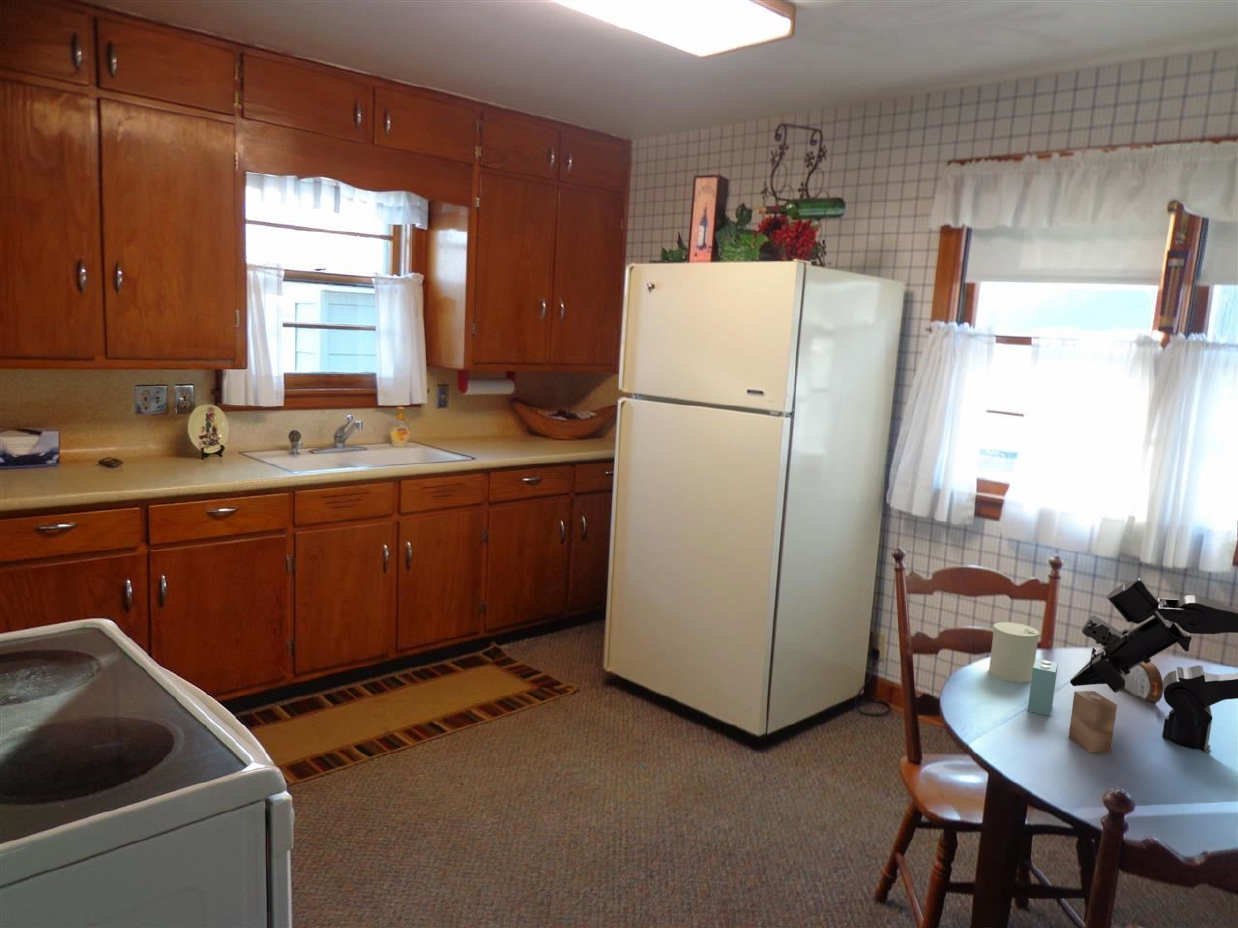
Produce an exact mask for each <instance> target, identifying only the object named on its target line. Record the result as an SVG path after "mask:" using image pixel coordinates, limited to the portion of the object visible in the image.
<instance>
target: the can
mask: <svg viewBox="0 0 1238 928" xmlns="http://www.w3.org/2000/svg"><path fill="white" fill-rule="evenodd" d="M1039 636H1040V632H1039V630H1037V629H1036V628H1034V627H1032V626H1030V625H1026V624H1023V623H1017V622H1013V621H1012V622H1011V621H1009V622H1007V621H1001V622H996V623H994V625H993V632H992V643H991V652H990V660H989V667H988V668H989V669H988V672H989V674H990V675H991V676H994V677H995V678H998V679H1000V680H1003V681H1007V682H1010V683H1011V682H1012V683H1021V684H1022V683H1023V684H1024V683H1031V679H1032V671H1033V666H1034V663H1035V660H1036V659H1037V657H1036V656H1037V650H1038V649H1037V648H1038V641H1039Z"/></svg>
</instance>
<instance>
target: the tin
mask: <svg viewBox="0 0 1238 928" xmlns="http://www.w3.org/2000/svg"><path fill="white" fill-rule="evenodd" d="M1121 671H1122V670H1121ZM1122 672H1123V671H1122ZM1123 673H1124V672H1123ZM1123 690H1124V691H1126V692H1127V693H1128V694H1129V695H1131V696H1132V695H1133V696H1137V697H1141V698H1142V699H1143V700H1145V701H1146V702H1155V704H1156V703H1159V702H1160V700H1161V699H1162V697H1163V695H1164V692H1163V677H1162V675H1161V672H1160V670H1159V668H1158V667H1157V666H1156V664H1155V663H1153V662H1151V661H1150V662H1148V663H1147V664H1145V662H1142V663H1141V664H1139V665H1137V666H1135V667H1133V668H1132V669H1131V672H1130V673H1129V674H1127V675H1126V680H1125V688H1124V689H1123Z"/></svg>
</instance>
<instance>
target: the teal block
mask: <svg viewBox="0 0 1238 928" xmlns="http://www.w3.org/2000/svg"><path fill="white" fill-rule="evenodd" d="M1058 665H1059V663H1058V662H1056V661H1050V660H1046V659H1040V658H1036V659H1035V663H1034V666H1033V671H1032V679H1031V682H1030V689H1029V696H1028V697H1029V698H1028V705H1027V706H1028V707H1027V712H1030V713H1035V714H1040V715H1045V716H1048V717H1051V714H1052V710H1053V705H1054V699H1055V698H1054V697H1055V689H1056V684H1057V683H1056V681H1057V675H1058V673H1057V672H1058Z"/></svg>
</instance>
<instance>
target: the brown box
mask: <svg viewBox="0 0 1238 928" xmlns="http://www.w3.org/2000/svg"><path fill="white" fill-rule="evenodd" d="M1117 707H1118V704H1116V703H1114V701H1112V700H1110V699H1108V698H1107V697H1105V696H1103V695H1102V694H1100V693H1099V692H1097V691H1095V690H1081V691H1078V690H1075V691H1074V692H1073V700H1072V708H1071V716H1070V723H1069V731H1068V739H1070V740H1071V741H1073V742H1074V743H1076V744H1077V745H1078V746H1080V747H1081V748H1083V749H1084V750H1085V751H1087V752H1088V753H1090V754H1101V753H1103V754H1105V753H1111V751H1112V745H1113V737H1114V730H1115V722H1116V716H1117V715H1116V713H1117V709H1118V708H1117Z"/></svg>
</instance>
